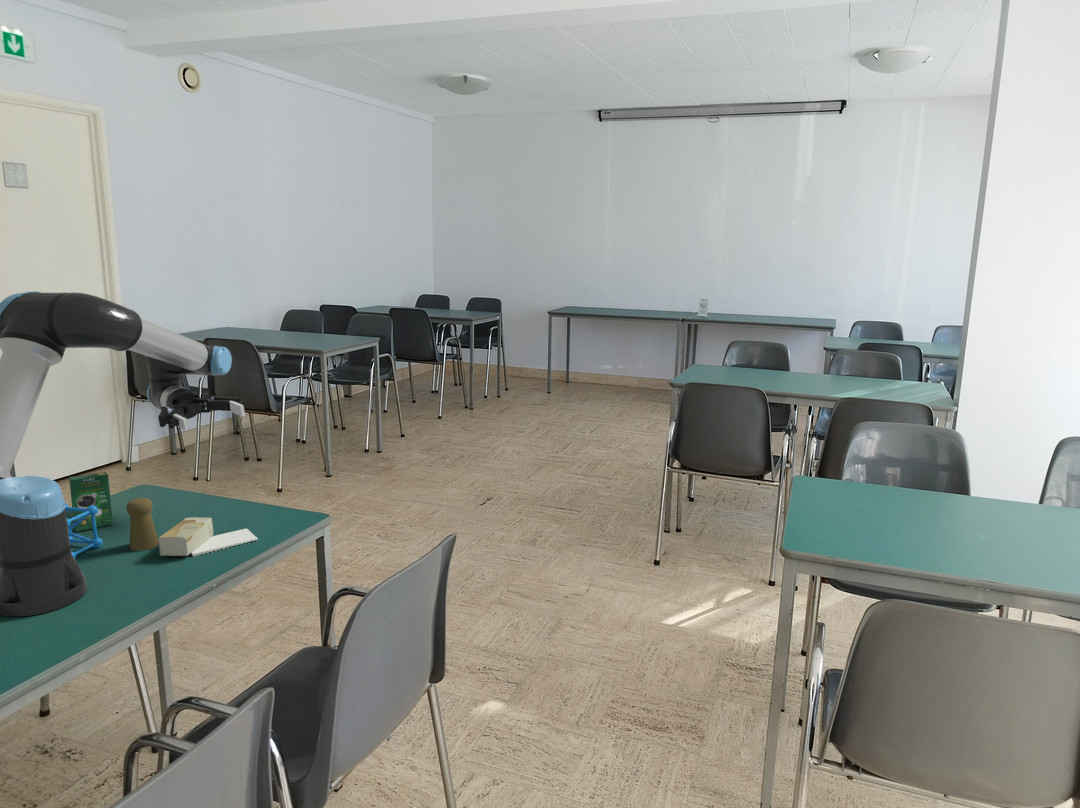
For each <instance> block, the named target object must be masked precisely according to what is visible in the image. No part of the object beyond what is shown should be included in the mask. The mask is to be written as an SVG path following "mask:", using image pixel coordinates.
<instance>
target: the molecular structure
mask: <svg viewBox="0 0 1080 808" xmlns="http://www.w3.org/2000/svg"><path fill="white" fill-rule="evenodd" d="M65 508H66V513H67V512H68V511H69V512H70V511H71V512H73V511H82V512H84V513H82V514H79V515H77V516H75V517H70V518H67V524H68V532H69V540H70V546H71V545H72V544H73V543H74V544H88V545H86V546H84V547H82V548H80V549H78V550H76V551H72V550H71V553H72V555H73V557H74V559H75V560H76V557H77V555H79V554H82V553H83V552H85V551H87V550H89V549H91V548H94V549H99V548H101V547H102V545H103V544H104V543H103V539H102V538H100V537H99V536H98V529H97V528H96V522H95V515H96V514H97V513H98V508H97V507H96V506H93V505H91V506H89V507H87V509H86V508H73V507H72V506H71V507H69V505H68V504H67V503H65ZM88 516H91V520H92V527H93V529H92V534H93V538H92V539H91V538H89V537H87V536H84V535H82V534H78V533H76V532H75V533H74V532H73V529H75V526H77V525H78V524H79V523H80V522H81V521H83V520H84V519H85V518H86V517H88ZM79 518H80V519H79ZM77 519H79V520H77ZM74 520H77V521H76V522H75V523H74ZM72 522H73V524H72ZM74 538H76V539H74Z"/></svg>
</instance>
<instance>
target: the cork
mask: <svg viewBox="0 0 1080 808" xmlns="http://www.w3.org/2000/svg"><path fill="white" fill-rule="evenodd" d="M153 508H154V507H153V501H152V500H151V499H150V498H149V497H148V498H147V497H138V498H133V499H131V500H129V501H128V502H127V504H126V508H125V509H126V512H127V514H128V515H129V517H130V518H129V523H130V524H129V550H130V549H131V550H130V551H133V550H134V551H133V552H138V551H137V550H144V551H148V549H149V550H152V549H154V547H155V548H157V547H158V546H159V539H158V538H159V537H158V534H157V530H156V529H157V528H156V526H155V523H154V519H153V515H152V510H153ZM157 545H158V546H157ZM151 548H152V549H151Z"/></svg>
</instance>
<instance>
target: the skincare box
mask: <svg viewBox="0 0 1080 808" xmlns="http://www.w3.org/2000/svg"><path fill="white" fill-rule="evenodd" d="M213 525H214V524H213V519H212V517H203V516H202V517H197V516H195V517H185V518H183V520H181V521H180V522H179V523H177V524H175V525H174V526H173V527H172V528H170V529H169V530H167V531H165V533H164V534H161V536H159V537H158V540H159V545H158V548H159V555H160V556H161V557H163V556H165V557H188V556H189V555H191V554H190V553H191V552H192V551H194V550H195V549H196V548H197V547H199V546H200V545H201V544H202V543H203V542H205V541H206V540H207V539H208V538H210V537H211V536H214V526H213Z"/></svg>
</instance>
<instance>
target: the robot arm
mask: <svg viewBox="0 0 1080 808" xmlns="http://www.w3.org/2000/svg"><path fill="white" fill-rule="evenodd" d="M69 348H71V349H72V348H73V349H77V348H78V349H79V348H83V349H85V348H92V349H93V348H95V349H96V348H97V349H100V348H101V349H109V350H112V351H115V352H125V351H131V352H134V353H137V354H140V355H142V356H145V359H146V366H147V372H148V378H149V385H148V387H147V390H146V396H147V397H146V399H147V400H148V402H149V403H151V405H153V406H154V407H155V408H156V409H159V410H160V413H158V416H157V418H158V424H159V427H160V428H165V427H166V425H168V428H169V429H170V430H171V429H175V427H177V428H180V429H181V430H183V431H185V432H186V431H189V425H188V420H189V419H192V418H195V417H196V416H197V415H199V414H201V413H202V414H205V413H210V412H212V411H214V412H215V411H217V412H218V411H230V412H231V413H233V414H235V415H238V416H240V417H245V416H246V413H245V405H243V398H242V397H236V396H219V395H211V396H210V398H208V397H207V398H204V397H203V398H202V397H200V395H199V394H198V393H197V392H195V391H193V390H190V389H188V388H186V387H185V386H184V387H183V386H182V385H183V384H182V375H198V376H199V375H201V376H213V377H216V376H224V375H227V374H228V373H229V372H230V370H231V368H232V361H233V357H232V354H231V352H230V350H229V348H227V347H225V346H218V345H213V346H211V345H208V344H205V343H202V342H198V341H196V340H195V339H191V338H190V337H187V336H185V335H182V334H179V333H177V332H174V331H172V330H169V329H167V328H164V327H162V326H160V325H158V324H156V323H152V322H150V321H148V320H145V319H144V318H141V316H140V314H139V313H137V312H136V311H135V310H133V309H131V308H128V307H126V306H123V305H121V304H118V303H115V302H113V301H110V300H107V299H105V298H102V297H99V296H96V295H94V294H93V295H92V294H89V293H84V292H42V291H25V292H17V293H14V294H10V295H8V296H7V297H5V298H4V299H3V300H2V301H1V302H0V350H1V352H2V354H1V355H0V615H1V616H4V617H14V618H15V617H17V618H18V617H28V616H35V615H41V614H44V613H49V612H51V611H52V612H53V611H55V610H58V609H61V608H64V607H67V606H69V605H70V604H72V603H74V602H76V601H78V600H79V599H81V598H82V597H83V596H84V595H85V594H86V592H87V591H88V584H87V578H86V576H85V574H84V572H83V570H82V569H81V567H80V566H79V564H78V561H77V560H76V558H75V559H74V557H73V555H72V553H71V551H72V548H71V545H70V540H69V532H68V524H67V516H68V515H67V512H66V508H65V504H66V501H65V498H64V496H63V492H62V488H61V486H60V484H58V482H57V481H55V480H53V479H50V478H47V477H43V476H39V475H38V476H36V475H26V476H19V475H18V476H12V475H11V471H12V468H13V465H14V463H15V460H16V457H17V455H18V453H19V450H20V447H21V444H22V441H23V439H24V437H25V434H26V431H27V429H28V426H29V423H30V422H31V421H30V420H31V418H32V415H33V412H34V410H35V407H36V404H37V402H38V399H39V396H40V394H41V392H42V389H43V387H44V383H45V381H46V378H47V375H48V372H49V370H50V367H52V366H55V365H58V364H60V363H61V362H62V360H63V357H64V355H65V352H66V350H67V349H69Z"/></svg>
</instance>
